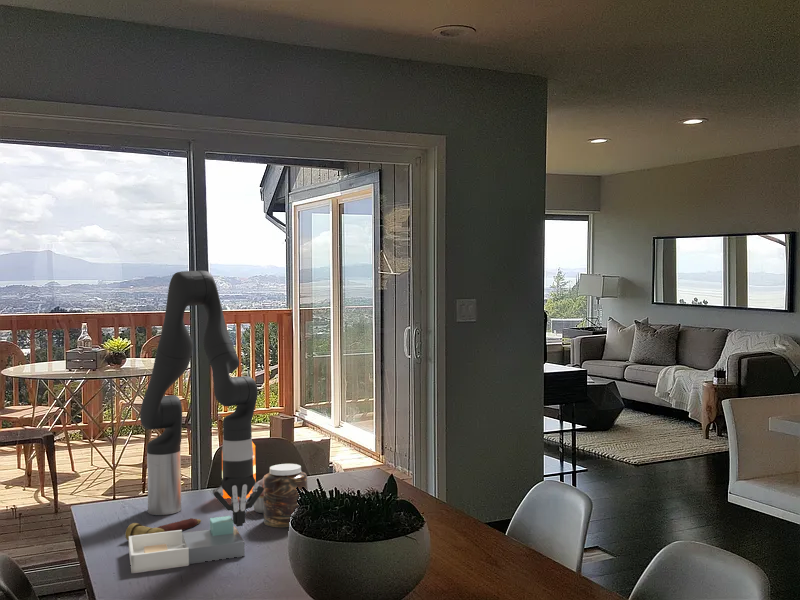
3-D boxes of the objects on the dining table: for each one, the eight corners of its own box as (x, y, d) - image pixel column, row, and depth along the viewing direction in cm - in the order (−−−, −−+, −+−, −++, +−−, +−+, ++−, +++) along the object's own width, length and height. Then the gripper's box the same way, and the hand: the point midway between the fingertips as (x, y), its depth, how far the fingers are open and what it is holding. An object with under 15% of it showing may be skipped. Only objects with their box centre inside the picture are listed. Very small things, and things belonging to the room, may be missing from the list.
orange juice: (222, 498, 235) (221, 433, 234) (233, 490, 243) (232, 428, 243) (246, 499, 233) (245, 433, 233) (256, 491, 242) (255, 428, 242)
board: (182, 546, 190) (182, 532, 190) (235, 540, 195) (235, 526, 195) (188, 564, 178) (188, 549, 178) (244, 556, 183) (244, 541, 183)
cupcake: (265, 504, 228) (265, 470, 228) (288, 509, 222) (288, 474, 222) (242, 511, 220) (241, 476, 220) (265, 517, 215) (264, 481, 215)
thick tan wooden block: (166, 543, 181) (166, 556, 181) (144, 546, 180) (144, 559, 180) (167, 550, 177) (167, 563, 177) (144, 553, 175) (145, 566, 175)
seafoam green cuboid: (210, 530, 192) (209, 518, 192) (230, 527, 194) (230, 515, 194) (212, 536, 187) (212, 523, 187) (233, 533, 189) (233, 521, 189)
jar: (290, 512, 218) (290, 460, 218) (316, 521, 210) (315, 466, 210) (255, 521, 210) (255, 467, 210) (280, 531, 202) (280, 474, 202)
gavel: (187, 509, 212) (213, 514, 207) (187, 526, 212) (213, 532, 207) (125, 524, 195) (152, 530, 189) (124, 543, 194) (151, 549, 189)
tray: (128, 552, 186) (128, 536, 186) (182, 545, 191) (181, 529, 191) (131, 573, 172) (131, 555, 172) (188, 565, 177) (188, 548, 177)
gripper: (260, 451, 198) (262, 518, 198) (208, 456, 193) (209, 524, 193) (267, 457, 191) (268, 526, 191) (213, 462, 186) (214, 533, 186)
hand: (238, 525), depth 192 cm, fingers closed
